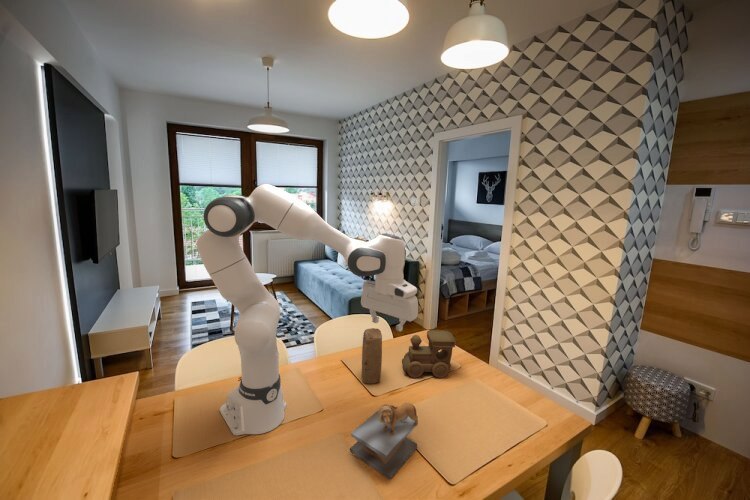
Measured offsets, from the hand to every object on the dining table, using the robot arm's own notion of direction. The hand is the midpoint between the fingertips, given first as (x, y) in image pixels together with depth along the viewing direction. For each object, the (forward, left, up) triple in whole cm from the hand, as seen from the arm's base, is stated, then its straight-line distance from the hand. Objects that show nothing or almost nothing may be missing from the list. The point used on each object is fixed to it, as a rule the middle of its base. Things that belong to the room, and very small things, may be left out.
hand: (386, 326), depth 104 cm
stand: (+10, -13, -31) cm, 35 cm away
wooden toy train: (-1, +33, -31) cm, 46 cm away
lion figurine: (+13, -11, -24) cm, 29 cm away
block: (-16, +14, -31) cm, 38 cm away
